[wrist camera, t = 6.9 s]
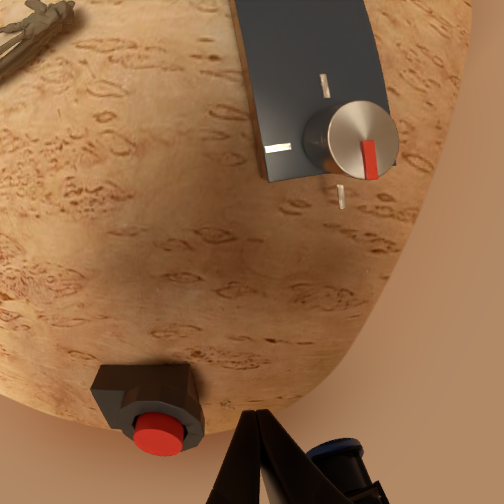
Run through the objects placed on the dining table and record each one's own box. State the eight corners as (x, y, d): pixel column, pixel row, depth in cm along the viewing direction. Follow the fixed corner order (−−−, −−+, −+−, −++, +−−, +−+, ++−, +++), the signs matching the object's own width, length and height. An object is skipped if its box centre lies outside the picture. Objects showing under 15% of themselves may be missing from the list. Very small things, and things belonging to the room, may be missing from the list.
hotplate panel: (217, -49, 13) (218, -73, 10) (323, -51, 13) (336, -71, 10) (266, 210, 20) (274, 220, 17) (377, 191, 20) (400, 199, 17)
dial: (297, 112, 15) (323, 100, 11) (357, 107, 15) (397, 98, 11) (307, 176, 16) (335, 185, 12) (366, 169, 16) (406, 176, 12)
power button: (178, 411, 19) (176, 429, 17) (188, 439, 20) (187, 456, 18) (130, 410, 19) (126, 428, 17) (144, 439, 20) (141, 455, 18)
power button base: (197, 355, 23) (194, 400, 18) (209, 409, 25) (209, 452, 20) (97, 358, 22) (79, 397, 17) (120, 409, 24) (109, 448, 20)
